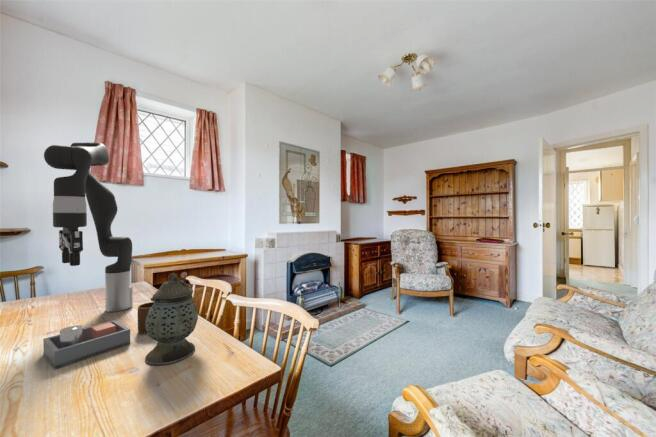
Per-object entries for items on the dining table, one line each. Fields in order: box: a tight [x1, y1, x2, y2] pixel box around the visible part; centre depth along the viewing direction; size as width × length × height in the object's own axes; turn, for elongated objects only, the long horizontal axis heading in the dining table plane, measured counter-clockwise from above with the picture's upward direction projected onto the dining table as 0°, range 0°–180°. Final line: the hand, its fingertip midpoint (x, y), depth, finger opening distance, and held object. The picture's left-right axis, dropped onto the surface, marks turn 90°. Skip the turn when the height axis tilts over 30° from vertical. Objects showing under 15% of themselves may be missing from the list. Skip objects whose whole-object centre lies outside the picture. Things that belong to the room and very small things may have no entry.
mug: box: [137, 301, 155, 335], centre depth 100 cm, size 12×8×9 cm, turn 59°
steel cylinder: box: [59, 325, 83, 349], centre depth 83 cm, size 5×5×7 cm
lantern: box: [144, 272, 199, 367], centre depth 84 cm, size 14×14×25 cm
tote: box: [42, 319, 131, 370], centre depth 87 cm, size 18×14×5 cm
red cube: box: [92, 323, 116, 339], centre depth 90 cm, size 5×5×5 cm
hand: (70, 264), depth 83 cm, fingers open, 8 cm apart
